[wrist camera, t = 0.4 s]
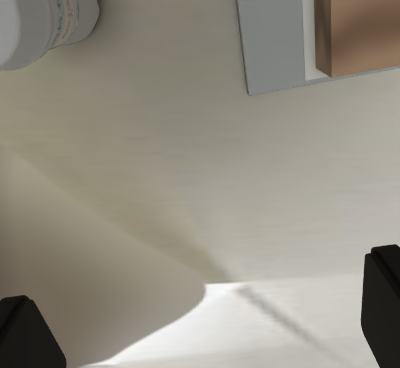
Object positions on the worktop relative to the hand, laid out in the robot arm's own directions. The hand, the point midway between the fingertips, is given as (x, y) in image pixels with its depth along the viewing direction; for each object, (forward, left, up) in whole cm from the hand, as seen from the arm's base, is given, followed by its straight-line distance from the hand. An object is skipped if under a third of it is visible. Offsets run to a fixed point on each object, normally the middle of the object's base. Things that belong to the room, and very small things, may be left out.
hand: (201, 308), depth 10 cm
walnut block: (-3, +15, -27) cm, 31 cm away
